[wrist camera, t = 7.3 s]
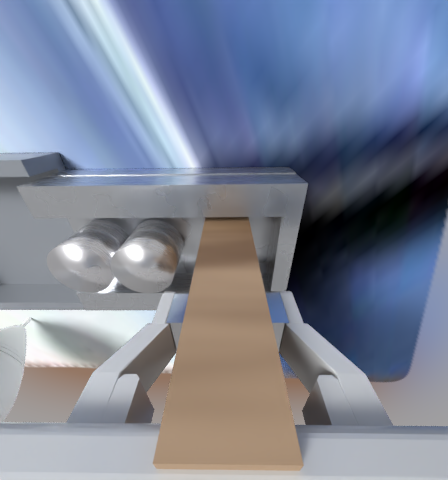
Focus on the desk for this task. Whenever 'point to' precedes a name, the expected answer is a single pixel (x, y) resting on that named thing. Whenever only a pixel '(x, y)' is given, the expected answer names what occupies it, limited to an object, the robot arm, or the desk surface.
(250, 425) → the tan long rectangular block
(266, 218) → the slot block
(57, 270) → the shiny gray ball
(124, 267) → the silver metal ball
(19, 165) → the tray
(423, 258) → the desk surface
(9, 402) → the white vase
